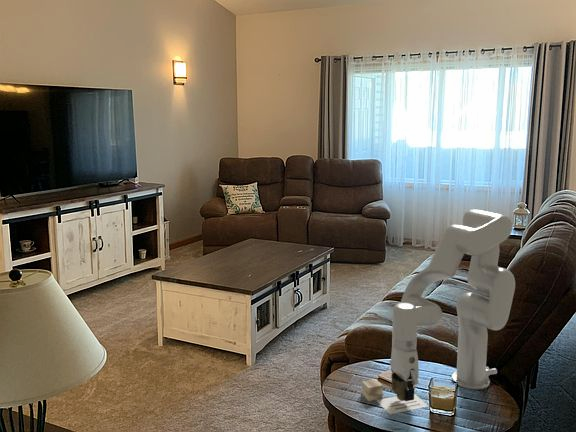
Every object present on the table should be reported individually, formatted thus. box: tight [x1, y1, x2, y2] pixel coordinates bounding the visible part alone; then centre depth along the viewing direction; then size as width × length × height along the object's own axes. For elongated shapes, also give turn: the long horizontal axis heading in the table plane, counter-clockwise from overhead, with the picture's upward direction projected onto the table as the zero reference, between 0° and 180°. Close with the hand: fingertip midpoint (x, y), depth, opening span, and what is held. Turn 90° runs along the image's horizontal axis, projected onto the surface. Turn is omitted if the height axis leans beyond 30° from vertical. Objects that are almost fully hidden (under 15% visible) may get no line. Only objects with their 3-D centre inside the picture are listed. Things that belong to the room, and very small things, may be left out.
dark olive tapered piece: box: [391, 372, 411, 401], centre depth 184 cm, size 8×7×8 cm
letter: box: [375, 393, 429, 415], centre depth 185 cm, size 14×9×1 cm, turn 109°
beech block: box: [361, 378, 384, 402], centre depth 190 cm, size 5×5×5 cm
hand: (402, 394), depth 185 cm, fingers closed on dark olive tapered piece, 6 cm apart
